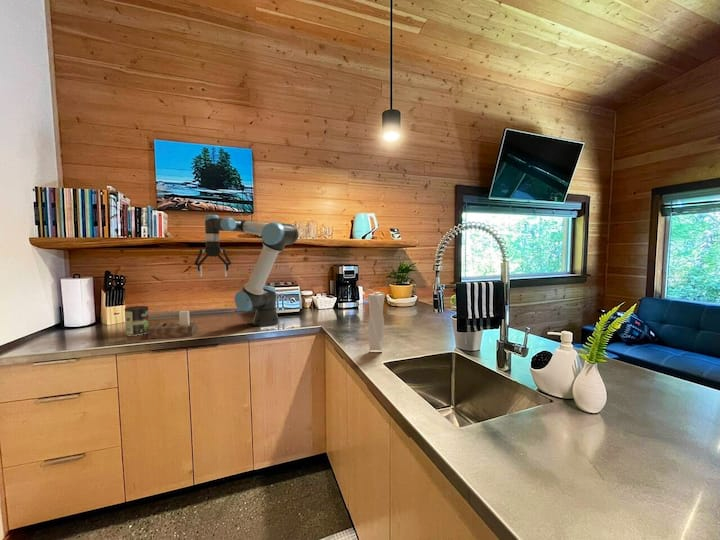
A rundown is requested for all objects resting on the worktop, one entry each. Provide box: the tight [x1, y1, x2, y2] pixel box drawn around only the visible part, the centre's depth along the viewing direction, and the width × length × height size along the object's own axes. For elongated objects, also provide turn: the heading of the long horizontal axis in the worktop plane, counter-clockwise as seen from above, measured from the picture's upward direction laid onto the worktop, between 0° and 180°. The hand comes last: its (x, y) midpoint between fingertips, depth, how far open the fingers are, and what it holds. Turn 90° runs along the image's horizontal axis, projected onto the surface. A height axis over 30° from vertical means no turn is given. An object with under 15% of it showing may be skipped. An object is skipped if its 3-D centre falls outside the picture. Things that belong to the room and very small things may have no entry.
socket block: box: [147, 320, 199, 340], centre depth 170 cm, size 20×14×5 cm
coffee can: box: [124, 305, 150, 337], centre depth 170 cm, size 10×10×14 cm
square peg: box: [178, 309, 191, 326], centre depth 171 cm, size 4×4×12 cm
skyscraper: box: [366, 288, 386, 351], centre depth 142 cm, size 8×8×28 cm
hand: (213, 276), depth 192 cm, fingers open, 13 cm apart
